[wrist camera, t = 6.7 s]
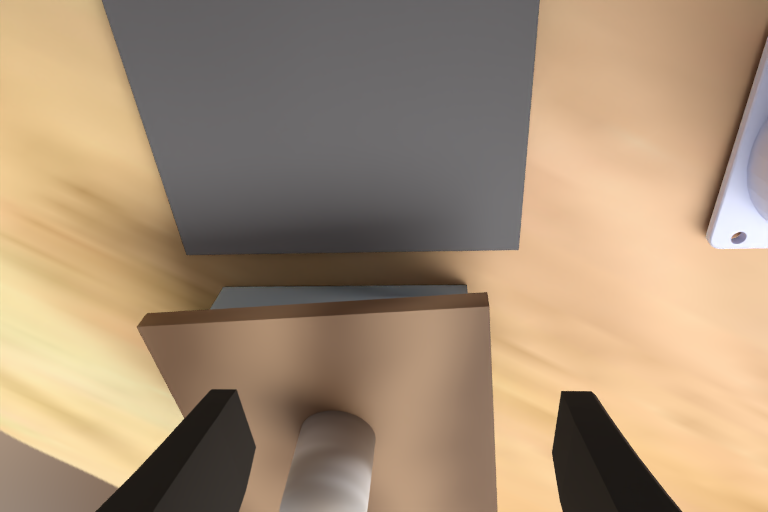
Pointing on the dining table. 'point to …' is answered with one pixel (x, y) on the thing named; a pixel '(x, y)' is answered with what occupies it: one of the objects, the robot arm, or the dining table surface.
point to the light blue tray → (323, 294)
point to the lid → (348, 398)
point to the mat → (335, 120)
